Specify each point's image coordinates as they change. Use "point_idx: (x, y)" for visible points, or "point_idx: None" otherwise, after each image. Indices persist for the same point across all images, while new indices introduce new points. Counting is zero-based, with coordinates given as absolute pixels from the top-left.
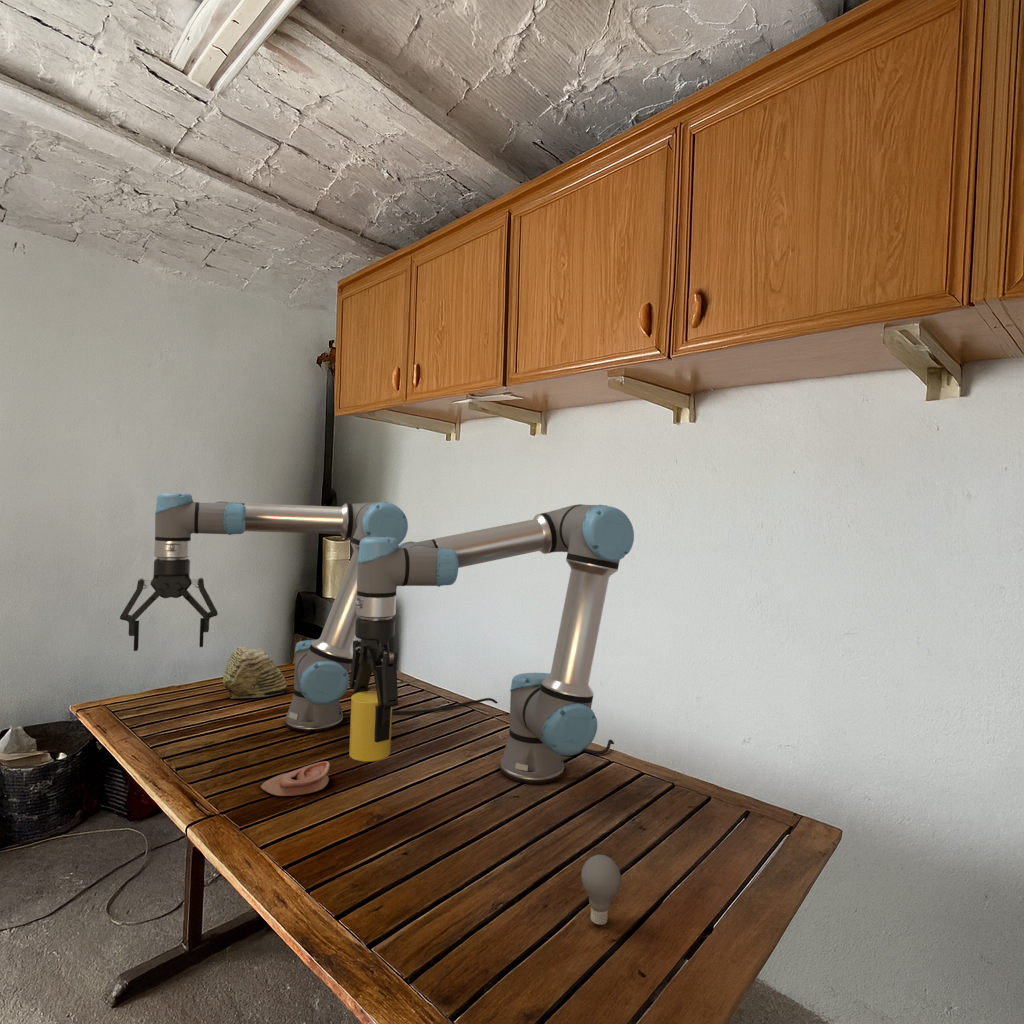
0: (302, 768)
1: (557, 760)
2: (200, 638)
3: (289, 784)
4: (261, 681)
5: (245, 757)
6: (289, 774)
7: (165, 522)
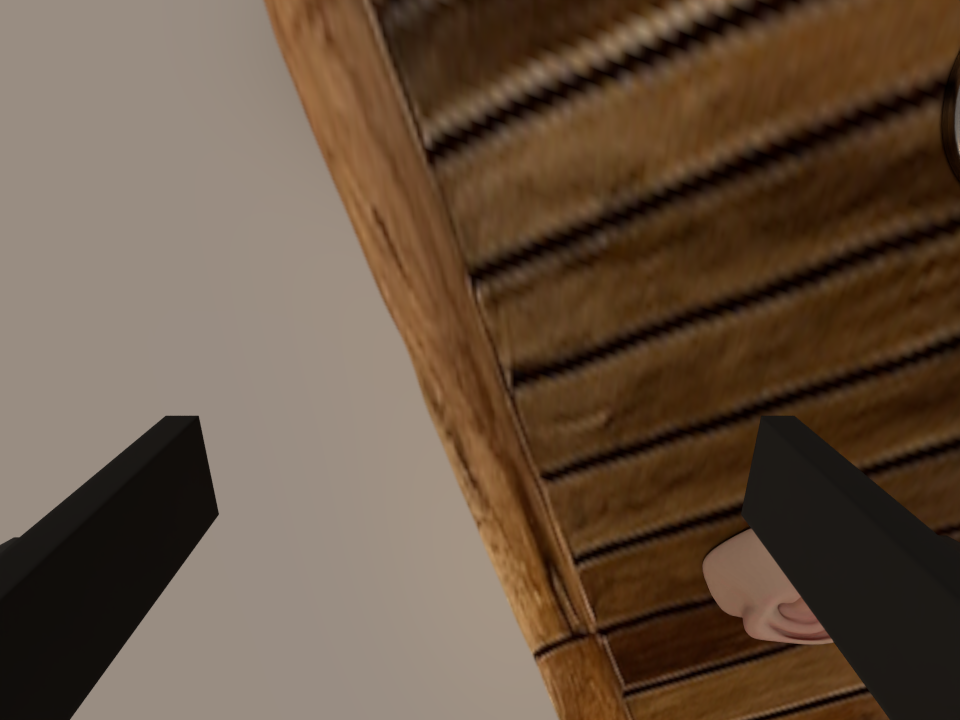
0: None
1: None
2: (792, 573)
3: (762, 639)
4: None
5: (713, 359)
6: (780, 601)
7: None
